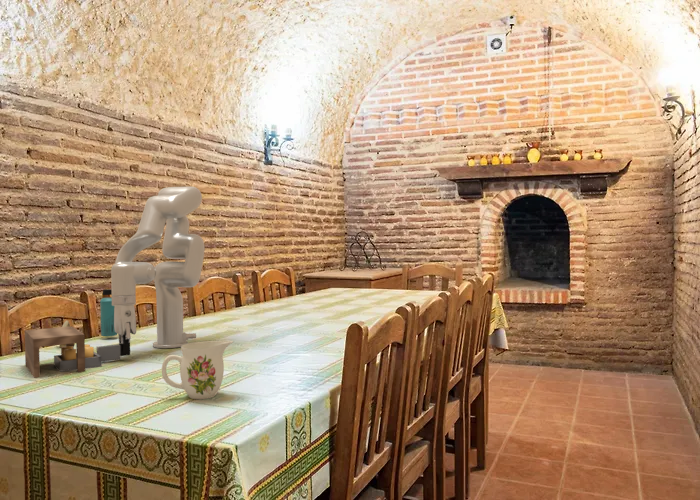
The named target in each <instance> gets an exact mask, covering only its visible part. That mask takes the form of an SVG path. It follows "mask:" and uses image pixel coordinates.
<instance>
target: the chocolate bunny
mask: <svg viewBox="0 0 700 500" xmlns="http://www.w3.org/2000/svg"><path fill="white" fill-rule="evenodd" d="M70 326H71V323H69V320H65V321H64V322H63V324H62V326H61V327H70ZM75 344H76V343H74V345H75ZM65 346H66V344H61V345H58V347H59V348H60V349H61V347H65Z"/></svg>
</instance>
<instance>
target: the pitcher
mask: <svg viewBox="0 0 700 500" xmlns="http://www.w3.org/2000/svg"><path fill="white" fill-rule="evenodd" d="M233 342H234V340H210V341H207V340H206V341H195V342H188V344H184V345H182V346H181V347H180V349H181V353H182V356H180V355H177V354H169V355H168V356H167V357H165V358H164V360H163V361H162V364H161V375H162V379H163V380H164V382H165V383H166V384H167V385H169V386H170V387H172V388H175V389H178V390H179V389H180V390H184V392H185V394H187V396H188V397H189V398H190V399H193V400H206V399H210V398H211V399H212V398H214V397H215V396H216V395H217V393H218V392H219V390H220V388H221V385H222V382H223V380H224V379H223V378H224V371H225V366H224V358H223V355H224V353H225V351H226V349H227V348H228V347H229V346H230V345H231V344H233ZM170 361H177V362H179V363H180V365H179V375H180V380H181V382H176V381H174V380H172V379H171V378H170V377H169V375H168V373H167V366H168V364H169V362H170Z"/></svg>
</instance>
